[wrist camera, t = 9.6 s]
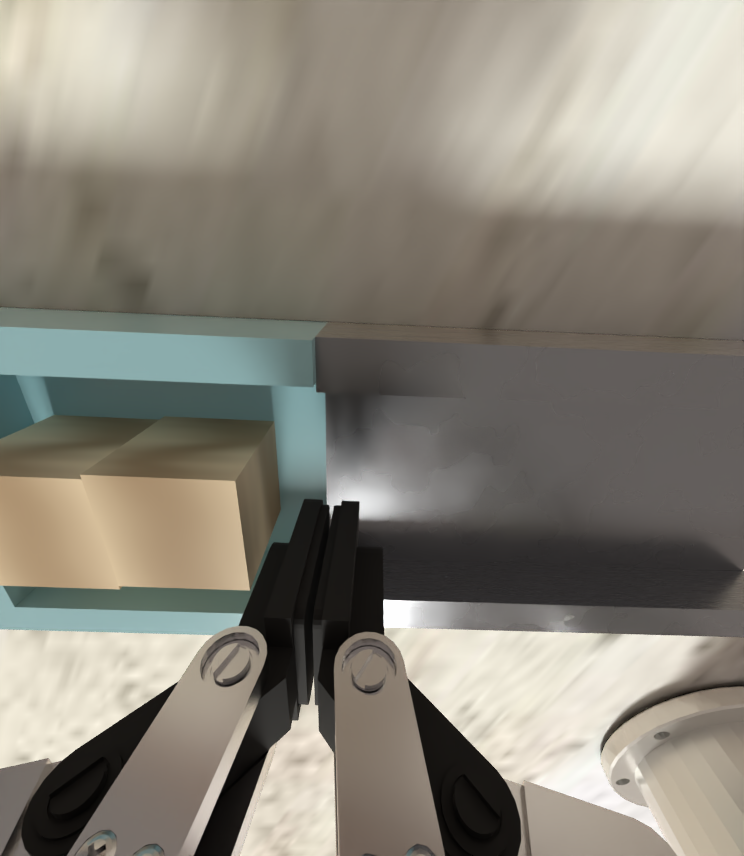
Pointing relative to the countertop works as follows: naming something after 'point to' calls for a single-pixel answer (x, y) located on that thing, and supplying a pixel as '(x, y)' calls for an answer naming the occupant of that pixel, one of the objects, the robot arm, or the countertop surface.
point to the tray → (153, 399)
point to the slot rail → (542, 476)
